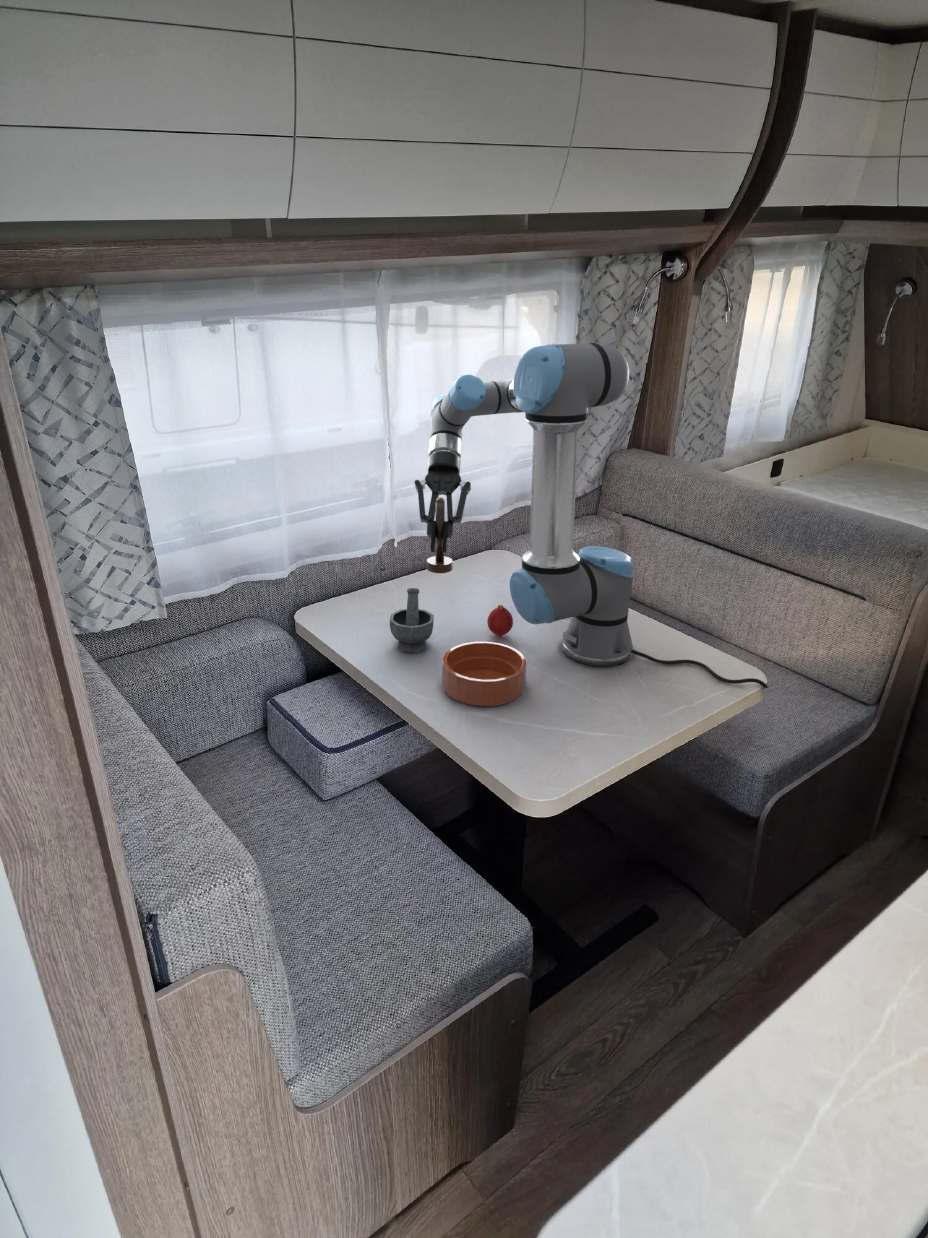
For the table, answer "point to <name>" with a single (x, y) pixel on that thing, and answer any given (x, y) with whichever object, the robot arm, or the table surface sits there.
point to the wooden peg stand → (439, 543)
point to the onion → (500, 621)
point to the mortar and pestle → (411, 624)
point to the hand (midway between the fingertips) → (438, 549)
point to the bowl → (484, 673)
